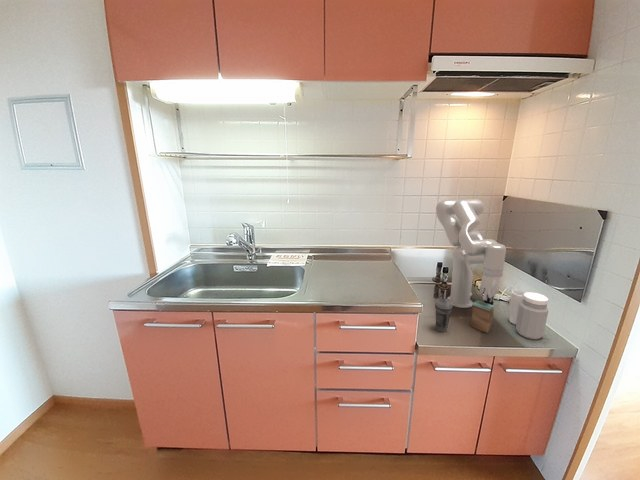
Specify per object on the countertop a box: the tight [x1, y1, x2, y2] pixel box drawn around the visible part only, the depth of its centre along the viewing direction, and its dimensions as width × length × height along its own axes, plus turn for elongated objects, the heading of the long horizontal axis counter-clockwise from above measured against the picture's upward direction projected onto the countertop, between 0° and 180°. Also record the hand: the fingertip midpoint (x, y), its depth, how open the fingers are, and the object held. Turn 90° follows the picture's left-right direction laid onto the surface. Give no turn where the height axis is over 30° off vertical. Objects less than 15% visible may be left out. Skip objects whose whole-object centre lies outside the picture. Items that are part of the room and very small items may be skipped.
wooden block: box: [470, 299, 495, 334], centre depth 123 cm, size 4×7×12 cm, turn 37°
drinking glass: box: [508, 289, 527, 325], centre depth 127 cm, size 7×7×15 cm
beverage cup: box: [434, 289, 454, 333], centre depth 123 cm, size 7×7×20 cm
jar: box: [515, 291, 549, 340], centre depth 117 cm, size 10×10×18 cm
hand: (487, 308), depth 125 cm, fingers closed
